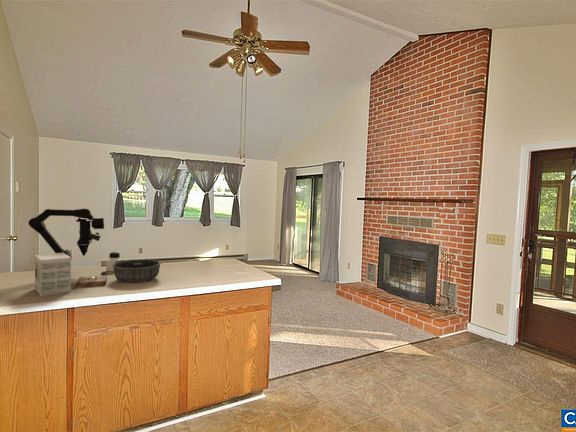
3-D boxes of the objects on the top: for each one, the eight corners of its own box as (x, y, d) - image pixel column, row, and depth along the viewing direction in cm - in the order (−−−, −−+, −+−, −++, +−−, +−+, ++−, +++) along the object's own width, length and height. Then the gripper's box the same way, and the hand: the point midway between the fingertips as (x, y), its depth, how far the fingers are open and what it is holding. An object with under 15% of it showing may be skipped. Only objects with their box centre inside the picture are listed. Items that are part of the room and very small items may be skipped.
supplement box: (33, 288, 176) (33, 254, 175) (64, 285, 185) (64, 252, 184) (39, 296, 163) (39, 259, 162) (71, 292, 173) (71, 257, 172)
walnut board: (76, 287, 181) (76, 282, 181) (79, 281, 194) (79, 276, 194) (105, 285, 187) (105, 280, 187) (107, 279, 200) (107, 275, 200)
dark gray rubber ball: (100, 277, 203) (100, 272, 203) (101, 276, 206) (101, 270, 206) (107, 277, 204) (107, 271, 204) (107, 276, 208) (107, 270, 207)
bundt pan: (102, 284, 189) (102, 266, 189) (126, 273, 216) (126, 258, 215) (148, 286, 188) (148, 269, 188) (167, 275, 215) (167, 260, 214)
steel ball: (88, 284, 188) (88, 278, 188) (89, 282, 191) (89, 276, 191) (95, 283, 190) (95, 277, 189) (96, 282, 193) (96, 276, 192)
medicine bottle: (115, 271, 219) (115, 253, 219) (105, 271, 221) (106, 252, 220) (122, 269, 226) (123, 252, 226) (113, 268, 228) (113, 251, 227)
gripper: (98, 230, 201) (98, 256, 202) (101, 227, 218) (100, 251, 219) (77, 230, 196) (76, 257, 197) (81, 227, 213) (80, 252, 214)
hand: (84, 254), depth 207 cm, fingers open, 9 cm apart
